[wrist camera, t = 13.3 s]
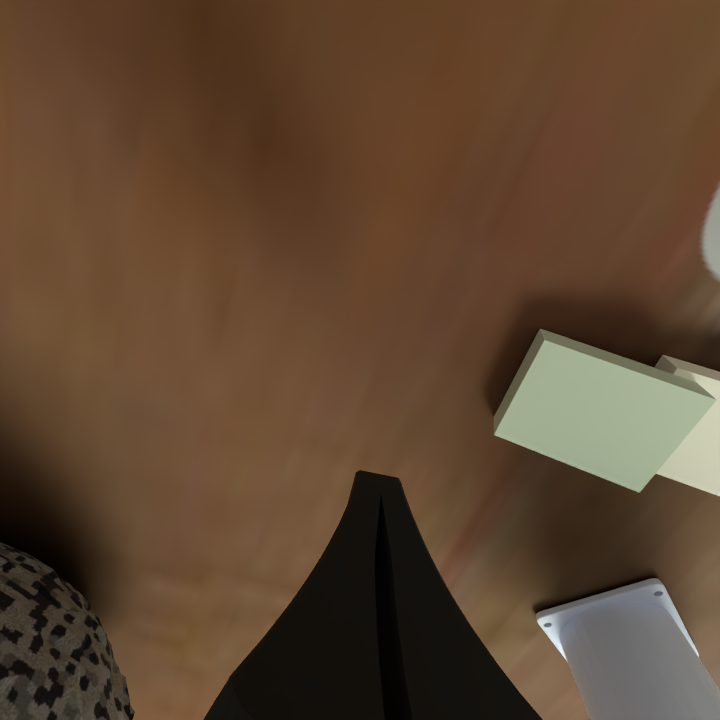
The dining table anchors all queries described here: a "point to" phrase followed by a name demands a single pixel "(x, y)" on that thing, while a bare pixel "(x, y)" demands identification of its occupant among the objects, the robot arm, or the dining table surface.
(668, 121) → the dining table surface
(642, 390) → the tile
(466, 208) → the dining table surface
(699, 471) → the tile
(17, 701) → the bowl
